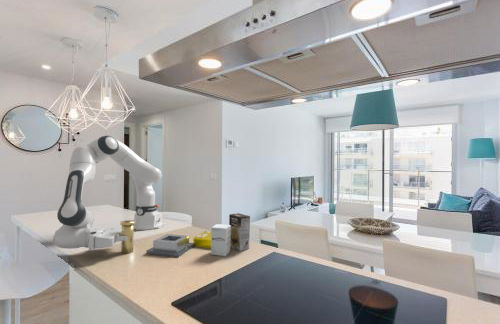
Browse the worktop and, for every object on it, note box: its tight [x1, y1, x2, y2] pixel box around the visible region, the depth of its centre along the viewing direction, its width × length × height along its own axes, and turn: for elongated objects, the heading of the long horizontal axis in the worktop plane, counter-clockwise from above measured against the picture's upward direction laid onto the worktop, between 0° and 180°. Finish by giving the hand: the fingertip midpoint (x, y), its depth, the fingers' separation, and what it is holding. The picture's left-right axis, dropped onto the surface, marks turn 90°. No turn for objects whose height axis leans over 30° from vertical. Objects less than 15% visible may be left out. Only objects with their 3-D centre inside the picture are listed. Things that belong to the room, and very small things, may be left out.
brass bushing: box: [120, 219, 135, 255], centre depth 118 cm, size 6×6×14 cm
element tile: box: [192, 230, 211, 249], centre depth 133 cm, size 15×15×5 cm
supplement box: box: [210, 223, 231, 257], centre depth 118 cm, size 7×7×13 cm
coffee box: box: [228, 212, 251, 252], centre depth 127 cm, size 9×6×16 cm
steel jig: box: [146, 233, 195, 258], centre depth 122 cm, size 16×16×6 cm
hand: (129, 235), depth 118 cm, fingers open, 6 cm apart
